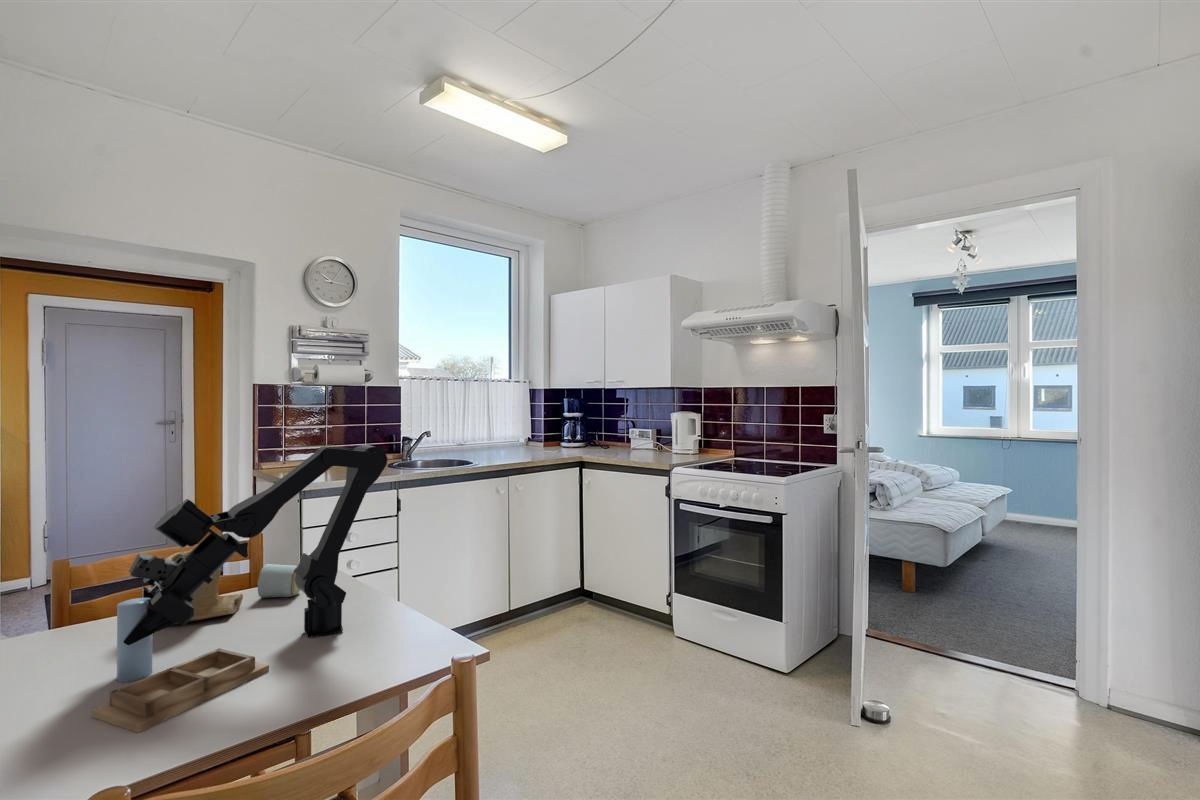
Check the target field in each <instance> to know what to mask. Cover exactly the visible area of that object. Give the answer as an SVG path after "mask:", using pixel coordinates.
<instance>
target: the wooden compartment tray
mask: <svg viewBox="0 0 1200 800" xmlns="http://www.w3.org/2000/svg"><path fill="white" fill-rule="evenodd" d="M269 671H270V665H269V664H267V663H264V662H259V661H256V656H253V655H250V654H249V655H248V654H245V653H244V654H243V653H241V652H240V653H239V652H236V651H231V650H228V649H223V648H217V649H215V650H212V651H209V652H207V653H204V654H201V655H199V656H196V657H194V658H192V659H189V660H186V661H183V662H182V663H179V664H177V665H174V666H172V667H169V668H166V669H164V670H162V671H160V672H159V671H158V672H156V673H154V674H150V675H149V676H147V677H145V678H142V679H139V680H135V681H133V682H132V683H129V684H126V685H124V686H122V687H118V688H116V689H114V690H112V691H110V692H109V702H107V703H104V704H102V705H99V706H97V707H95V708H92V709H91V710H90V717H91V718H93V717H94V718H93V719H96V718H97V720H99V719H100V721H102V720H103V722H105V721H106V722H105V723H108V724H112V725H115V726H117V727H121V728H123V729H126V730H130V731H133V732H136V733H141V732H143V731H145V730H147V729H149V728H151V727H154V726H155V725H158V724H160V723H162V722H164V721H166V720H168V719H171V718H173V717H174V716H177V715H179V714H181V713H183V712H185V711H187V710H189V709H191V708H193V707H195V706H198V705H200V704H202V703H204V702H206V701H209V700H211V699H212V698H214V697H216V696H219V695H221V694H223V693H224V692H227V691H230V690H231V689H233V688H236V687H238V686H240V685H242V684H244V683H247V682H248V681H250V680H252V679H254V678H257V677H259V676H261V675H263V674H265V673H268V672H269Z"/></svg>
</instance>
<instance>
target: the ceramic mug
mask: <svg viewBox="0 0 1200 800" xmlns="http://www.w3.org/2000/svg"><path fill="white" fill-rule="evenodd" d="M297 567H298V565H293V564H277V563H275V564H271V563H267V564H264V566H262V568H261V570H260V571H259V576H258V579H257V594H258V596H259V597H260V598H263V599H264V598H291V597H295V596H297V595H299V593H300V592H301V590H300V589H299V588H298V587H297V585H296V583H295V576H296V573H294V570H295V569H296V568H297Z"/></svg>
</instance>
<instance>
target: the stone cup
mask: <svg viewBox="0 0 1200 800" xmlns="http://www.w3.org/2000/svg"><path fill="white" fill-rule="evenodd" d="M193 549H194V548H192V549H190V550H187V551H179V552H176V553H173V554H171V555H169V556H167V558H165V559H167V560H170V561H175V560H176V559H177V558H178V557H179V556H182V555H183V556H184V557H185V556H186V555H187V554H189V553H190V552H191V551H192V550H193ZM221 572H222V566H221V567H220V568H219V569H218V570H217V571H216V573H215V574H214V575H213V576H212V578H213V580H212V581H211V582H210V583H209V584H208V583H205V584H204V585H203V586H202V587H201V588H200V589H199V590H198V591H197V592H196V593H195V594H194V595H193V596H192V597H193V598H194V599H193V600H192V601H191V602H190V603H191V604H192V606H193V608H194V617H193V618H192V619H191V620H190V621H189V622H195V621H201V620H206V619H211V618H217V617H222V616H229V615H231V614H232V615H233V614H235V613H237V611H238V609H239V608H240V607H241V605H242V602H243V599H244V594H243V593H238V594H237V593H236V594H231V595H220V594H219V592H218V588H219V582H220V578H221Z"/></svg>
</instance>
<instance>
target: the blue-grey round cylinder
mask: <svg viewBox="0 0 1200 800" xmlns="http://www.w3.org/2000/svg"><path fill="white" fill-rule="evenodd" d="M147 599H148V600H150V601H151V600H152V598H143V597H136V598H130V599H126V600H124V601H121V602H119V603H117V605H116V606H117V608H116V609H117V610H116V680H118V681H117V682H121V683H129V682H136V681H139V680H141V679H144V677H145V678H146V677H149V676H151V675H152V673H153V634H154V633H153V634H151V635H149V636H147V637H145V638H143V639H141V640H139V641H137V642H135V643H133V644H131V645H126V644H125V643H124V642H123V641H124V640H125V638H126V637H127V636H128V634H129V633H130V632H131V630H132V629H133V628H134V627H135V625H136V624H137V623H138V622H139V620H140V619H141V618H142V617H143V615H144V614H145V613H146V600H147ZM148 675H149V676H148Z"/></svg>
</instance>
